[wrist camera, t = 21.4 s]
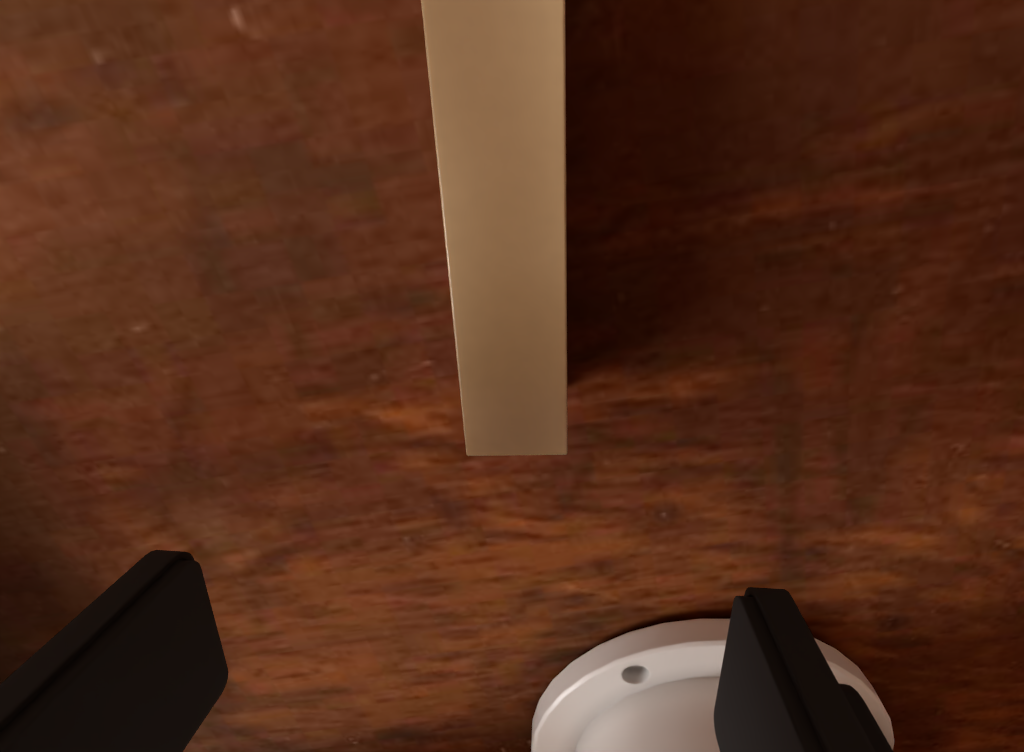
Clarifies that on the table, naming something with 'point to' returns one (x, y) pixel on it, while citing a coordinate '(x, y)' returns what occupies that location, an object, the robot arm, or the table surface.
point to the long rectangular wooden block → (504, 214)
